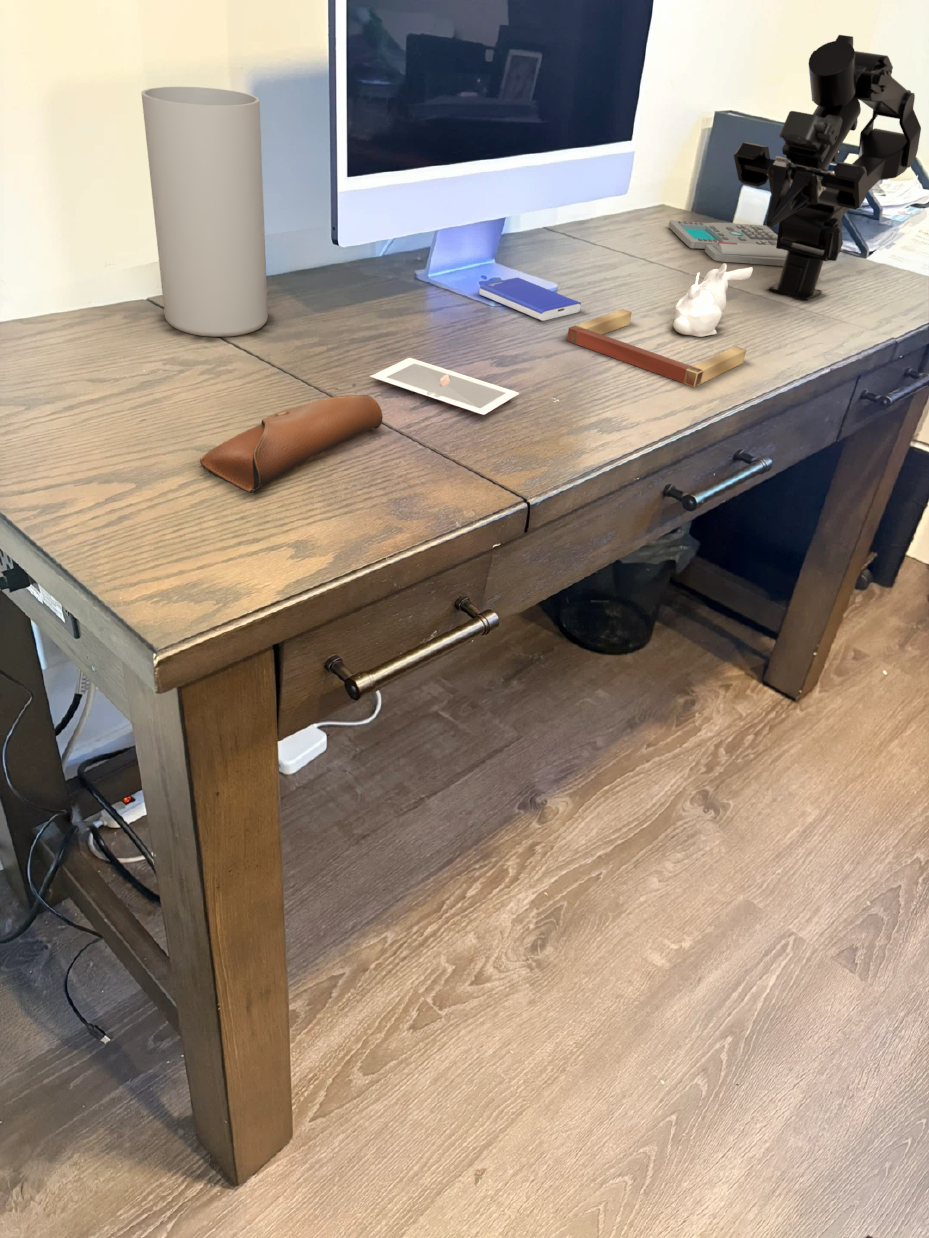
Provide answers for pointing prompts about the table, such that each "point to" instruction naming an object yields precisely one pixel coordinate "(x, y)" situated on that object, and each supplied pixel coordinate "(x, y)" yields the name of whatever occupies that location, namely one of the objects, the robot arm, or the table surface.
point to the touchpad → (446, 385)
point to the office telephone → (732, 241)
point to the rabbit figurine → (706, 302)
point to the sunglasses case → (291, 439)
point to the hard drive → (530, 298)
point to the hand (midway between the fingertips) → (768, 224)
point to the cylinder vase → (208, 208)
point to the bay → (693, 376)
